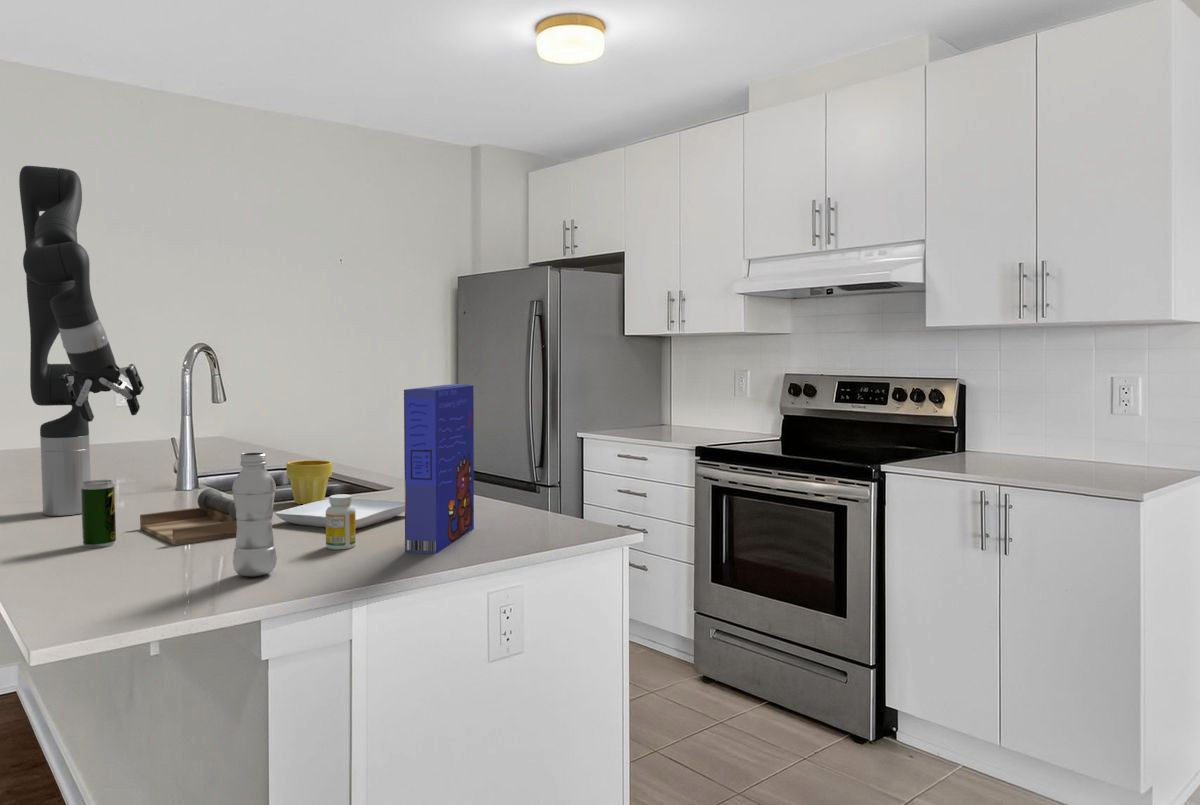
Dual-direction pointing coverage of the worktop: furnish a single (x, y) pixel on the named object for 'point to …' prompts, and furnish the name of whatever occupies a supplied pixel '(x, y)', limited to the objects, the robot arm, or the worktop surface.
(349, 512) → the supplement bottle
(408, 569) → the worktop surface
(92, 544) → the beer can
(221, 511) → the bay
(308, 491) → the plant pot
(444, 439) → the cereal box
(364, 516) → the salad plate
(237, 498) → the plastic bottle
